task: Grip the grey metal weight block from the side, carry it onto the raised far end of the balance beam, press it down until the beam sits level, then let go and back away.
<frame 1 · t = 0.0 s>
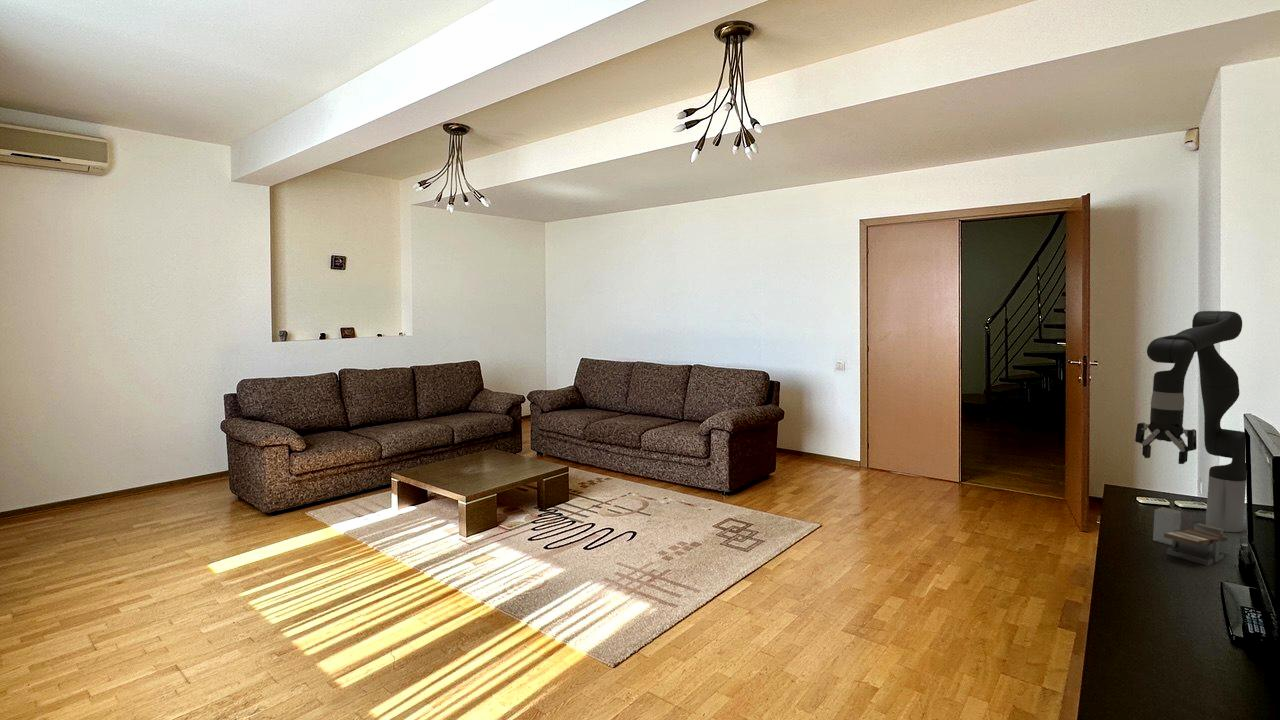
hand: (1163, 460, 191), 29 cm above the tv stand, fingers open, 8 cm apart
weight block: (1166, 541, 204), on the tv stand
pivot stand: (1194, 556, 192), on the tv stand
balance beam: (1196, 533, 191), point 7 cm above the tv stand, hinge at -7.0°
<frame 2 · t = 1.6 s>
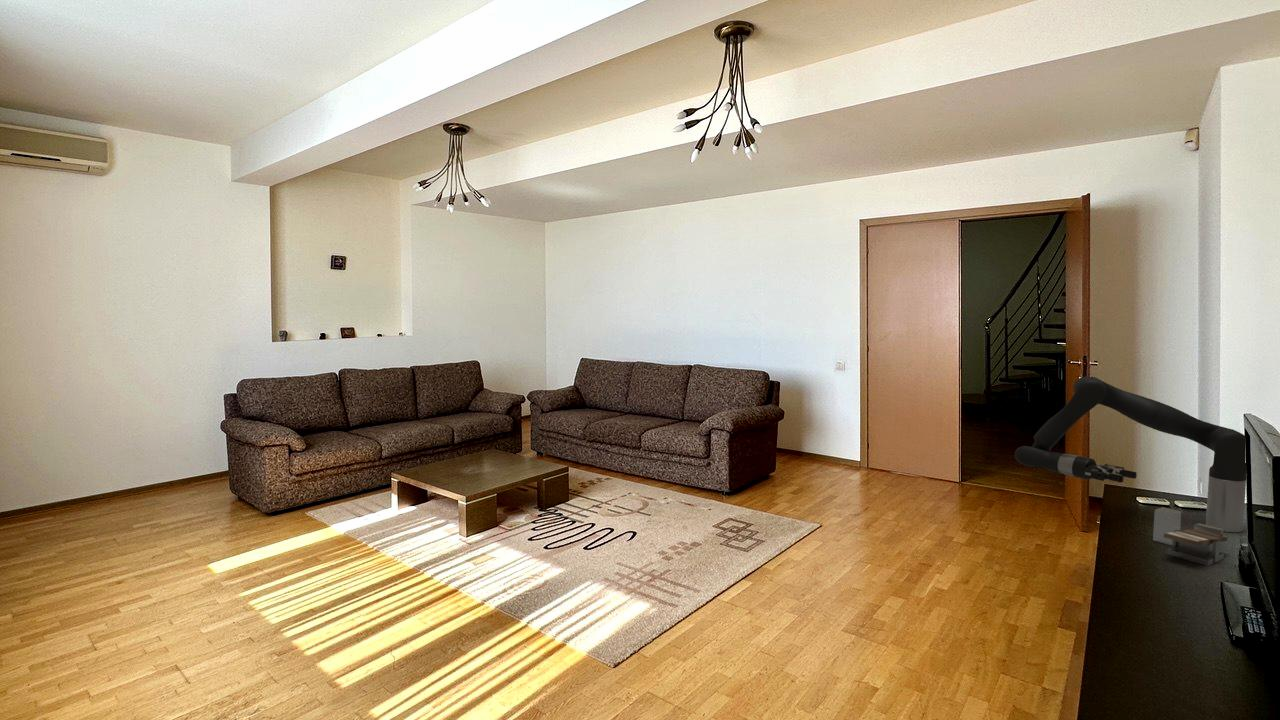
hand: (1129, 477, 212), 18 cm above the tv stand, fingers open, 8 cm apart
nothing on the tv stand moved.
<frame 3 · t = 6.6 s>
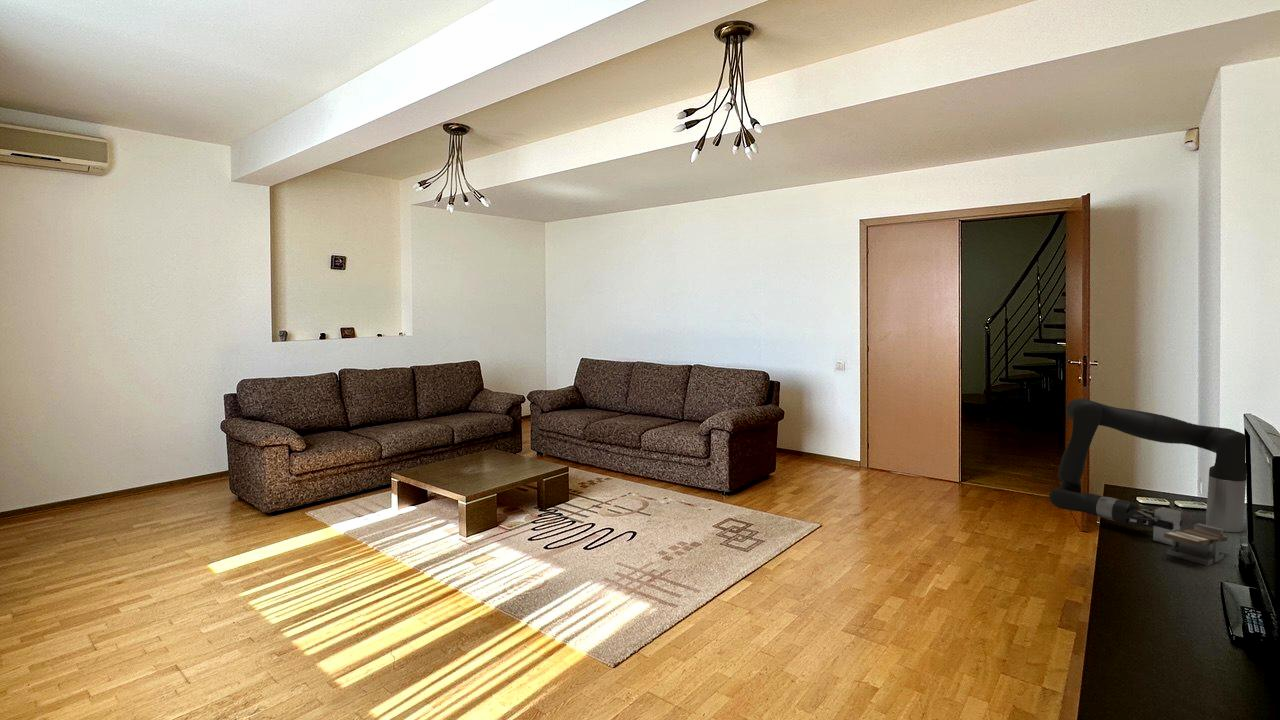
hand: (1177, 525, 201), 6 cm above the tv stand, fingers closed on weight block, 5 cm apart
weight block: (1166, 541, 204), on the tv stand, touching gripper
everything else where it was.
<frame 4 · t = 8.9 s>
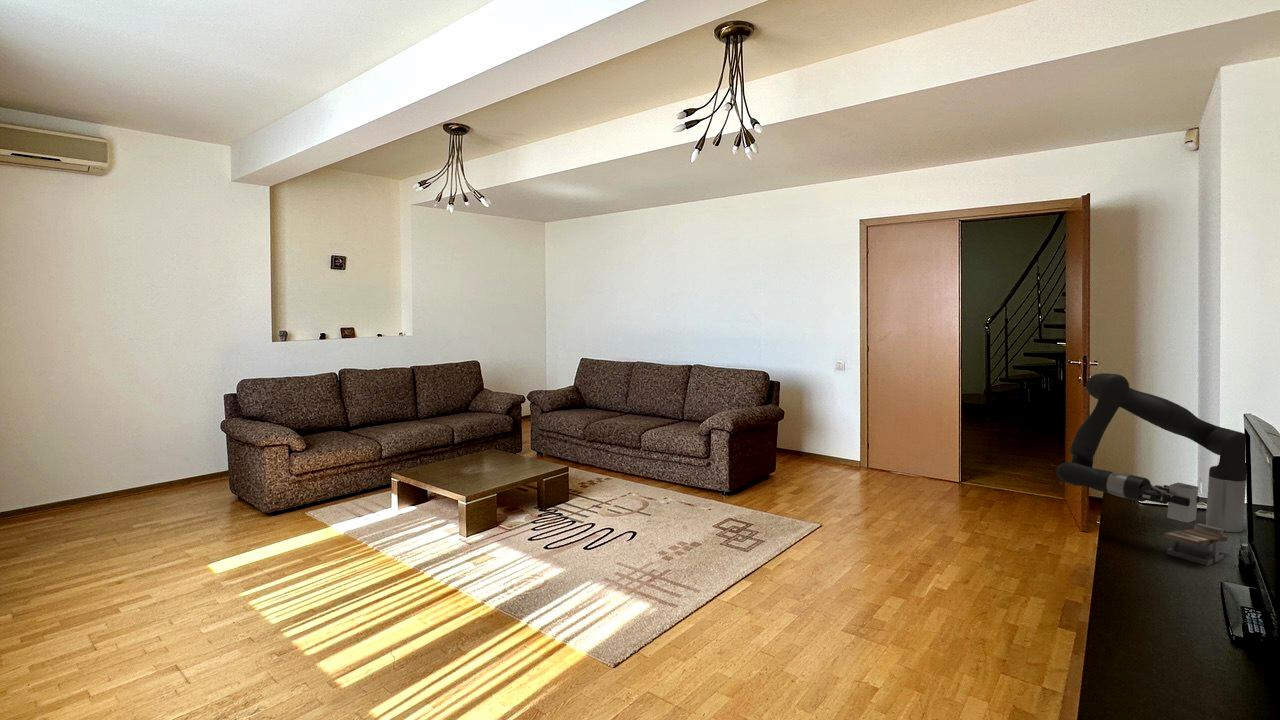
hand: (1193, 501, 188), 18 cm above the tv stand, fingers closed on weight block, 5 cm apart
weight block: (1181, 518, 191), point 12 cm above the tv stand, touching gripper
everything else where it was.
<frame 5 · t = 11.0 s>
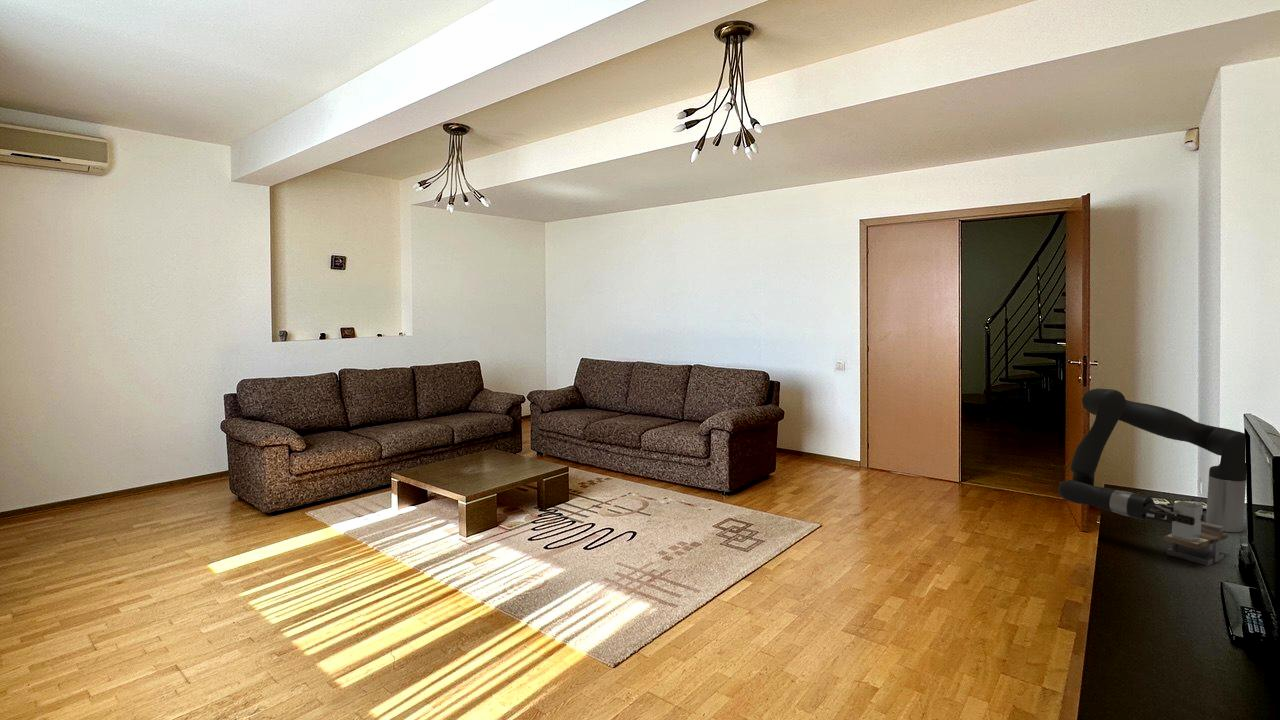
hand: (1198, 520, 186), 13 cm above the tv stand, fingers closed on weight block, 5 cm apart
weight block: (1185, 537, 189), point 7 cm above the tv stand, touching balance beam, gripper
balance beam: (1196, 533, 191), point 7 cm above the tv stand, hinge at -2.1°, touching weight block
when the fingers open (13 cm above the tv stand, at t = 11.5 s): weight block stays where it is, resting on balance beam.
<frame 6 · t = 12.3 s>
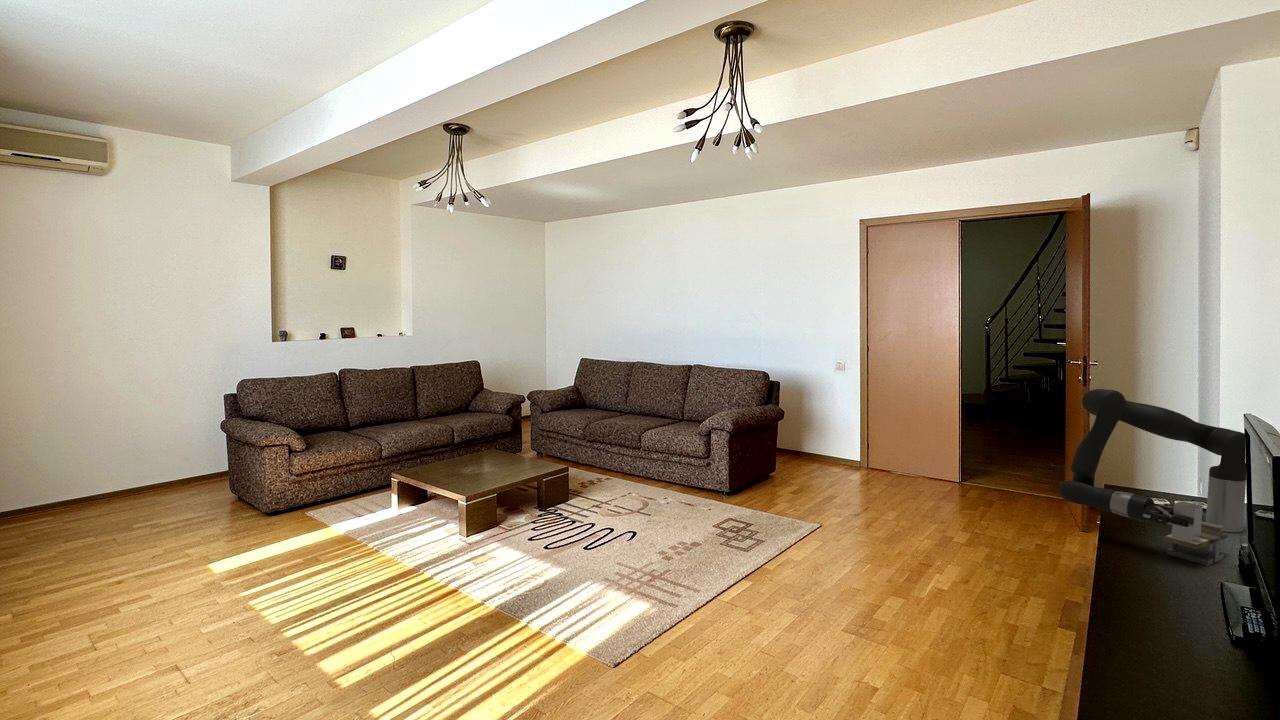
hand: (1195, 521, 186), 13 cm above the tv stand, fingers open, 8 cm apart
weight block: (1185, 537, 189), point 7 cm above the tv stand, touching balance beam
balance beam: (1196, 533, 191), point 7 cm above the tv stand, hinge at -1.8°, touching weight block
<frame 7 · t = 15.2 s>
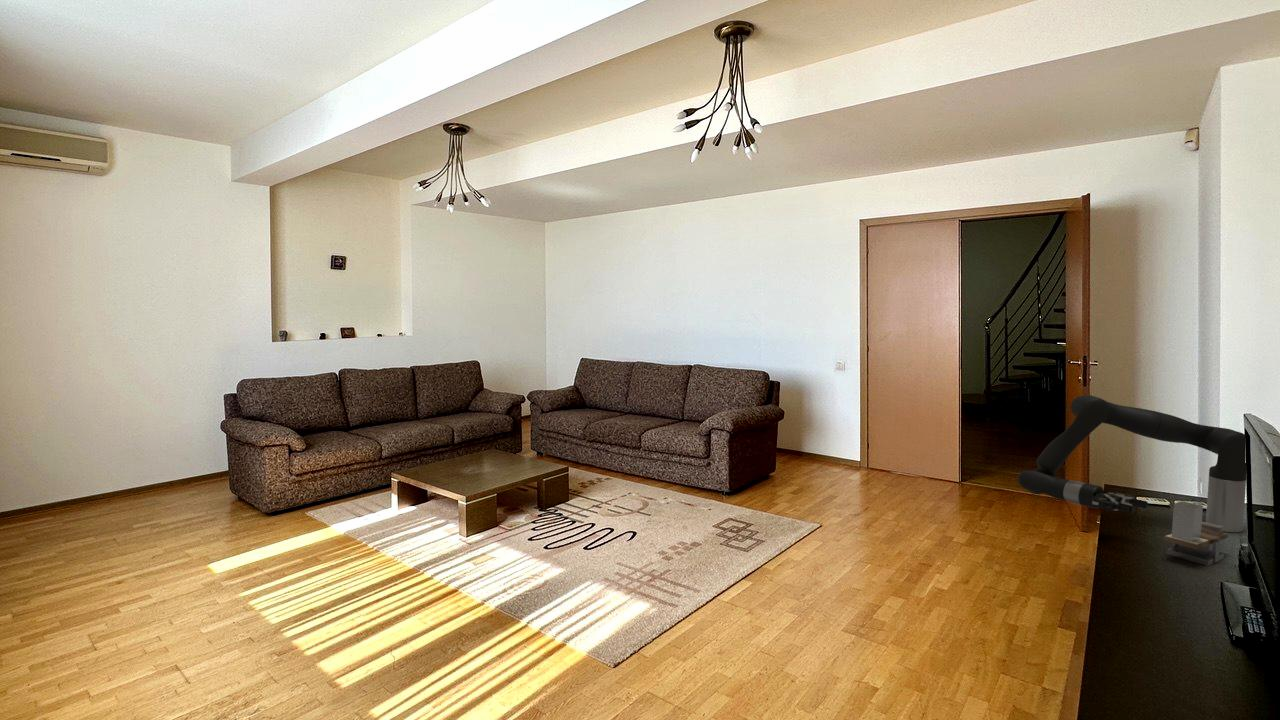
hand: (1140, 507, 199), 13 cm above the tv stand, fingers open, 8 cm apart
nothing on the tv stand moved.
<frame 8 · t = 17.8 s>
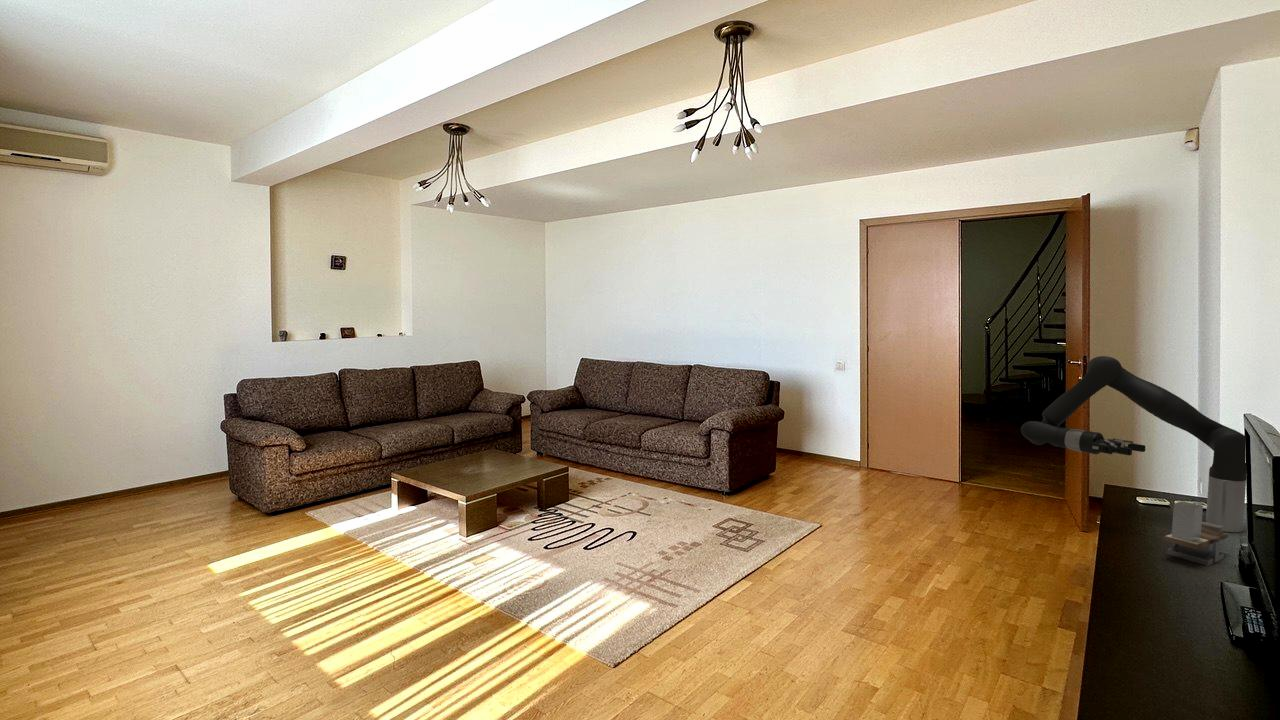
hand: (1138, 450, 208), 28 cm above the tv stand, fingers open, 8 cm apart
nothing on the tv stand moved.
at the end: balance beam at -2° (first picture: -7°); weight block inside the target area (0.2 cm from its centre), point 6.9 cm above the tv stand; weight block tilted 2° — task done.
